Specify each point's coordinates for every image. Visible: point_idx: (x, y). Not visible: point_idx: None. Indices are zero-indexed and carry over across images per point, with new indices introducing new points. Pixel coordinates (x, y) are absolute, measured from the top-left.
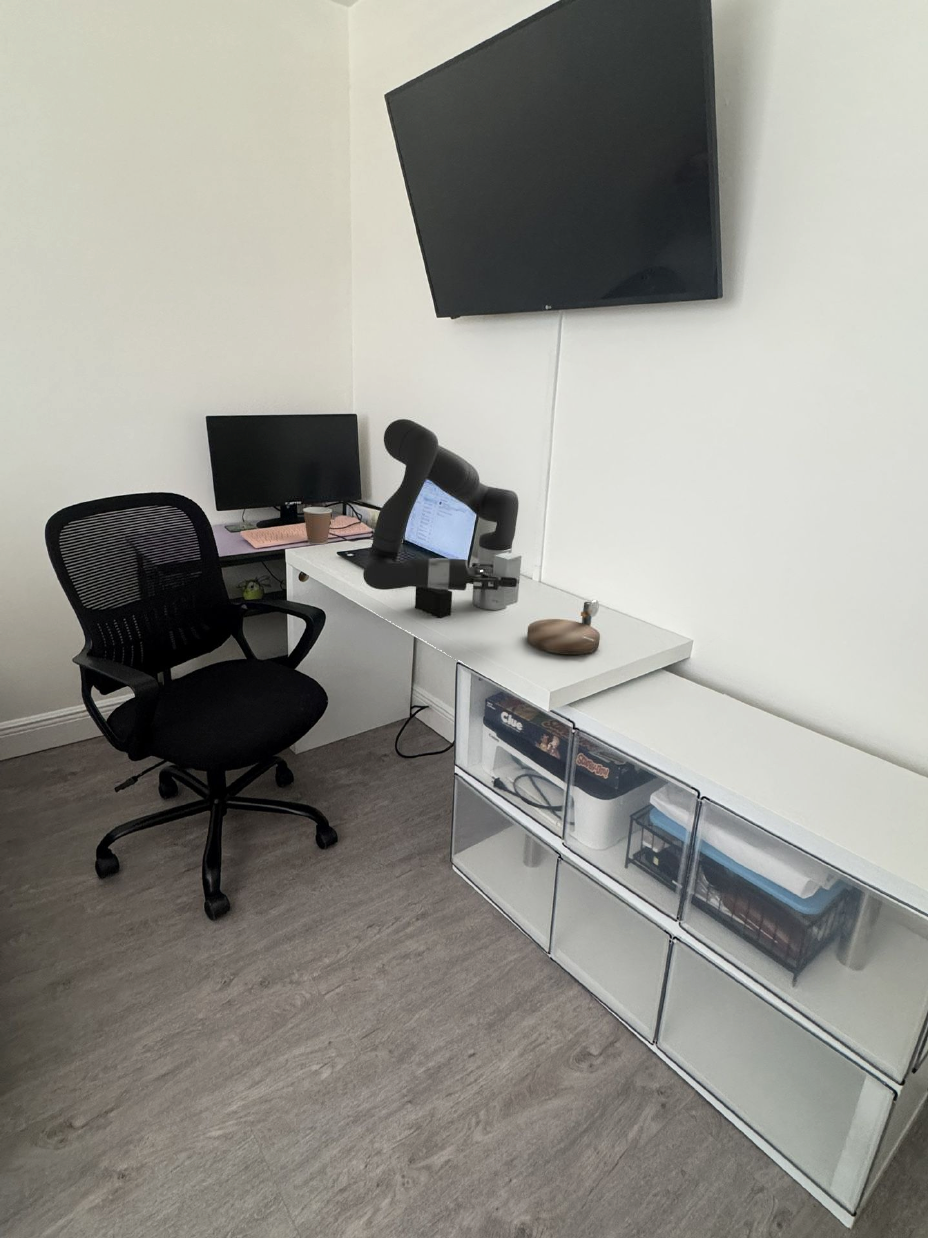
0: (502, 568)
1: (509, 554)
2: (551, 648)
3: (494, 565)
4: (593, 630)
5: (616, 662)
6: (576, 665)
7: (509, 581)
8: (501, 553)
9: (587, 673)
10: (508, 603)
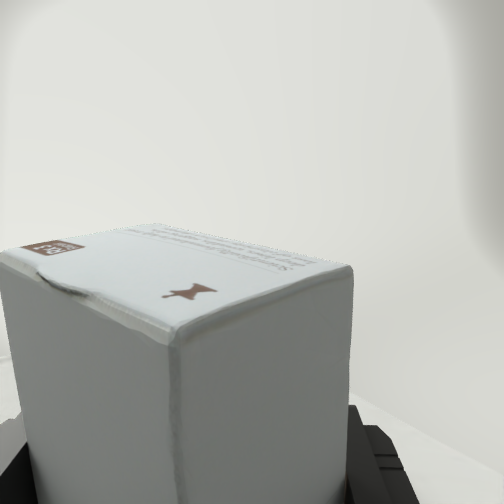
0: (315, 419)
1: (139, 245)
2: None
3: (209, 493)
4: None
5: (360, 411)
6: (438, 501)
7: (398, 469)
8: (56, 278)
9: (488, 481)
10: None
